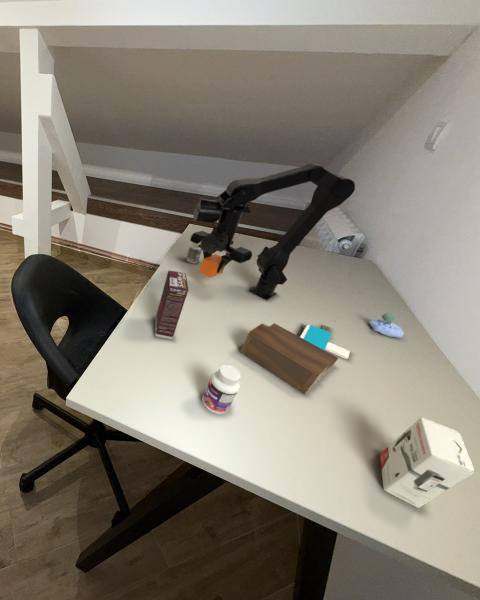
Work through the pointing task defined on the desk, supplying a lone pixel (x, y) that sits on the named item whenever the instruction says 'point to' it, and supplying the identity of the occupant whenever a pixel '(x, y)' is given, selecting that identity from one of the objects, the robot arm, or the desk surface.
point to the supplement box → (171, 304)
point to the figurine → (387, 326)
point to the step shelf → (287, 356)
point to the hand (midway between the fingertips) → (211, 269)
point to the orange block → (211, 265)
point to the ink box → (424, 462)
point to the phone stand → (322, 339)
